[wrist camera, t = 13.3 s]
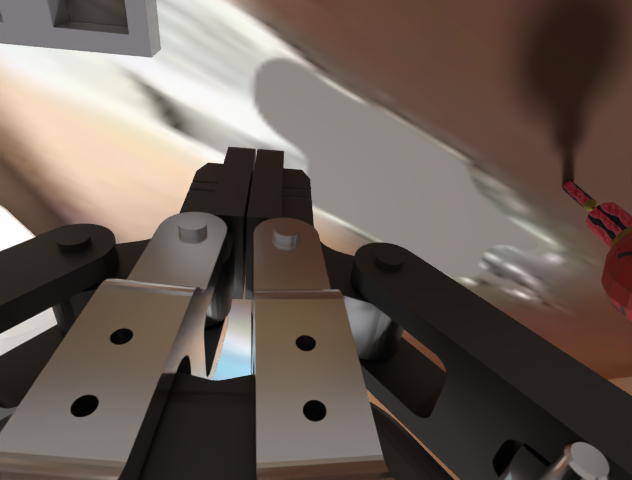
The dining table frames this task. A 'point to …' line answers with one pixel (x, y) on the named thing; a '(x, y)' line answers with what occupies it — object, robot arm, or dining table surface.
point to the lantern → (611, 246)
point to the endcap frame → (79, 28)
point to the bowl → (5, 233)
